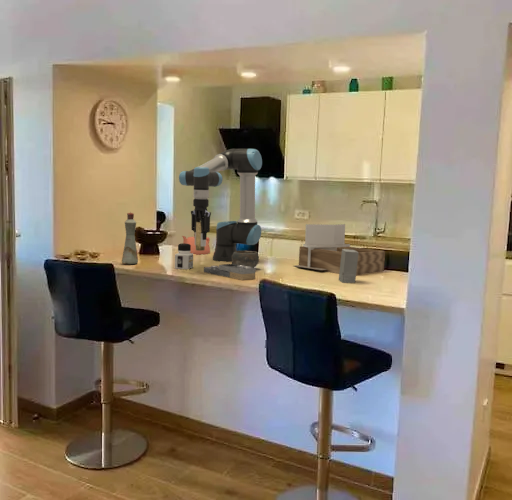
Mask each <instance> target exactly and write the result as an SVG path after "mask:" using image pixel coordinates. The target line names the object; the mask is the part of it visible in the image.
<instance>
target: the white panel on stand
mask: <svg viewBox="0 0 512 500" xmlns="http://www.w3.org/2000/svg"><path fill="white" fill-rule="evenodd" d="M304 231H305V235H304V237H305V238H304V244H302V246H304V247H308V266H301V265H299V264H296V265H294V267H299V268H302V267H304V268H303V269H307V268H311V269H310V270H313V269H317V270H316V271H319V270H327V269H322V268H315V267H310V257H311V250H314V248H316V249H324V250H331V251H337V247H351V244H350V243H345V237H346V236H345V235H346V224H345V223H344V224H341V223H340V224H325V223H324V224H321V223H320V224H319V223H318V224H316V223H315V224H314V223H313V224H311V223H310V224H307V223H306V224H305V230H304Z"/></svg>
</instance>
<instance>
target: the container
mask: <svg viewBox="0 0 512 500" xmlns="http://www.w3.org/2000/svg"><path fill="white" fill-rule="evenodd" d="M190 252H191V245H190V244H186V243H183V242H182V243H178V245H177V253H175V254H174V269H175V270H176V269H177V270H178V269H179V270H190V268H191V269H192V268H194V255H193V253H190Z"/></svg>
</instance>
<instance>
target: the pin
mask: <svg viewBox="0 0 512 500" xmlns="http://www.w3.org/2000/svg"><path fill="white" fill-rule="evenodd" d="M201 232H202V228H201V221H200V222H196V250H197V251H204V250H205V246H201Z"/></svg>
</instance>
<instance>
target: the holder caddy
mask: <svg viewBox="0 0 512 500" xmlns="http://www.w3.org/2000/svg"><path fill="white" fill-rule="evenodd" d="M342 249H349V250H355V251H357V252H358V262H357V270H356V276H361V275H365V274H372V273H373V274H374V273H379V272H384V271H385V258H386V251H385V250H379V249H372V248H371V249H369V248H364V247H355V246H350V247H337V251H331V250H324V249H316V248H314V250H311V257H310V267H315V268H322V269H327V270H317V269H311V268H306V269H308V270H313V271H320V272H324V273H325V272H326V273H330V274H336V275H339V272H340V263H341V254H342ZM298 253H299V254H298V265H301V266H308V247H304V246H303V245H302V246H299V252H298ZM302 268H303V269H305V268H304V267H301V269H302Z"/></svg>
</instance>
